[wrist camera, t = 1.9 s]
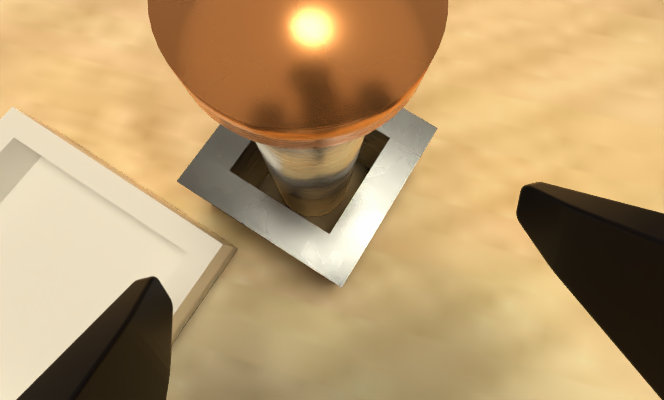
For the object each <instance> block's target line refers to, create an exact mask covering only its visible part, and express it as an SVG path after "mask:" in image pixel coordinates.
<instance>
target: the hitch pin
mask: <svg viewBox="0 0 664 400" xmlns="http://www.w3.org/2000/svg"><path fill="white" fill-rule="evenodd" d="M148 14H149V19H150V23H151V28H152V32H153V34H154V37H155V39H156V42H157V45H158V47H159V49H160V51H161V53H162V54H163V56H164V58H165V59H166V61H167V63H168V64H169V66H170V67H171V69H172V70H173V71H174V73H175V74H176V76H177V77H178V78H179V80H180V81H181V82H182V84H183V85H184V87H185V88H186V89H187V91H188V92H189V94H190V95H191V96H192V97H193V99H194V100H195V101H196V102H197V104H198V105H199V106H200V107H201V108H202V109H203V110H204V111H205V112H206V113H207V114H208V115H209V116H210V117H211V118H213V119H214V120H215V121H217V122H218V123H220V124H221V125H222V126H224V127H225V128H227V129H229V130H230V131H232V132H234V133H236V134H238V135H240V136H242V137H244V138H247V139H250V140H252V141H255V142H256V144H257V146H258V149H259V151H260V153H261V155H262V157H263V159H264V161H265V163H266V165H267V167H268V169H269V171H270V173H271V175H272V177H273V179H274V181H275V183H276V185H277V188H278V190H279V192H280V194H281V196H282V198H283V200H284V201H285V203H286V204H287V205H288V206H289V207H290V208H291V209H292V210H294V211H295V212H297V213H299V214H302V215H305V216H321V215H325V214H327V213H329V212H331V211H333V210H334V209H335V208H336V207H337V206H338V205H339V204H340V203H341V202H342V200H343V198H344V196H345V193H346V190H347V187H348V184H349V181H350V178H351V175H352V172H353V169H354V166H355V163H356V160H357V157H358V154H359V151H360V148H361V145H362V142H363V139H364V136H365V135H367V134H369V133H370V132H372V131H374V130H376V129H377V128H379V127H381V126H382V125H383V124H385V123H386V122H387V121H389V120H390V119H391V118H393V117H394V116H395V115H396V114H397V113H398V112H399V111H400V110H401V109H402V108H403V107H404V106H405V105H406V103H407V102H408V101H409V99H410V98H411V97H412V95H413V94H414V93H415V91H416V89H417V87H418V86H419V84H420V82H421V80H422V78H423V76H424V74H425V72H426V71H427V69H428V67H429V65H430V63H431V61H432V59H433V57H434V55H435V54H436V52H437V50H438V48H439V45H440V43H441V40H442V37H443V34H444V31H445V26H446V21H447V15H448V0H148Z"/></svg>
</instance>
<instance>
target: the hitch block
mask: <svg viewBox="0 0 664 400" xmlns="http://www.w3.org/2000/svg"><path fill="white" fill-rule="evenodd" d="M436 130H437V128H436V127H435V126H433V125H431V124H429V123H428V122H426V121H424V120H423V119H421V118H419V117H417V116H416V115H414V114H412V113H411V112H409V111H407V110H405V109H404V108H402V109H401V110H400V111H399V112H398V113H397V114H396V115H395V116H394V117H393V118H391V119H390V120H389V121H387V122H386V123H385V124H383V125H382V126H381V127H379V128H377V129H376V130H374V131H372V132H370V133H369V134H367V135H365V136H364V139H363V142H362V145H361V148H360V151H359V154H358V157H357V161H359V162H360V163H362V164H364V165H365V166H367V167H369V168H370V171H369V172H368V174H367V176H366V177H365V179H364V180H363V182H362V184H361V185H360V187H359V188H358V190H357V192H356V193H355V195H354V196H353V198H352V199H351V201H350V203H349V204H348V206H347V207H346V209H345V211H344V212H343V214H342V215H341V217H340V218H339V220H338V222H337V223H336V225H335V226H334V228H333V230H332V231H331V233H330V234H328V233H327V232H325V231H324V230H322V229H321V228H319V227H317V226H316V225H314V224H313V223H311V222H309V221H308V220H306V219H305V218H303V217H302V216H300V215H298V214H297V213H295V212H294V211H292V210H290V209H289V208H287V207H286V206H284V205H283V204H281V203H279V202H278V201H276V200H275V199H273V198H271V197H270V196H268V195H267V194H265V193H264V192H262V191H260V190H259V189H257V187H258V186H259V184H260V183H261V182H262V180H263V179H264V177H265V176H266V175H267V173H268V172H269V169H268V167H267V165H266V163H265V161H264V159H263V157H262V155H261V153H260V151H259V149H258V146H257V144H256V142H255V141H252V140H250V139H247V138H244V137H242V136H240V135H238V134H236V133H234V132H232V131H230V130H229V129H227V128H225V127H224V126H222V125H221V124H220V125H219V127H218V128H217V129H216V131H215V132H214V133H213V135H212V136H211V137H210V138H209V140H208V141H207V142H206V144H205V145H204V146H203V148H202V149H201V150H200V152H199V153H198V154H197V155H196V157H195V158H194V159H193V161H192V162H191V163H190V165H189V166H188V167H187V169H186V170H185V171H184V172H183V174H182V175H181V176H180V178H179V179H178V180H177V182H179V183H180V184H182V185H183V186H185V187H186V188H188V189H189V190H191V191H192V192H194V193H196V194H197V195H199V196H200V197H202V198H203V199H205V200H206V201H208V202H210V203H211V204H213V205H214V206H216V207H217V208H219V209H220V210H222V211H224V212H225V213H227V214H228V215H230V216H231V217H233V218H234V219H236V220H237V221H239V222H241V223H242V224H244V225H245V226H247V227H248V228H250V229H251V230H253V231H255V232H256V233H258V234H259V235H261V236H262V237H264V238H265V239H267V240H268V241H270V242H272V243H273V244H275V245H276V246H278V247H279V248H281V249H282V250H284V251H286V252H287V253H289V254H290V255H292V256H293V257H295V258H296V259H298V260H300V261H301V262H303V263H304V264H306V265H307V266H309V267H310V268H312V269H313V270H315V271H317V272H318V273H320V274H321V275H323V276H324V277H326V278H327V279H329V280H331V281H332V282H334V283H335V284H337V285H338V286H340V287H341V288H342V286H343V285H344V283H345V281H346V280H347V278H348V276H349V275H350V273H351V271H352V270H353V268H354V266H355V265H356V263H357V261H358V260H359V258H360V256H361V255H362V253H363V251H364V250H365V248H366V246H367V245H368V243H369V241H370V240H371V238H372V236H373V235H374V233H375V231H376V230H377V228H378V227H379V225H380V223H381V222H382V220H383V218H384V217H385V215H386V213H387V212H388V210H389V208H390V207H391V205H392V203H393V202H394V200H395V198H396V197H397V195H398V193H399V192H400V190H401V188H402V187H403V185H404V183H405V182H406V180H407V178H408V177H409V175H410V173H411V172H412V170H413V168H414V167H415V165H416V163H417V162H418V160H419V158H420V157H421V155H422V153H423V152H424V150H425V148H426V147H427V145H428V143H429V142H430V140H431V138H432V137H433V135H434V133H435V132H436Z"/></svg>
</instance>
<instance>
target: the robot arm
mask: <svg viewBox="0 0 664 400" xmlns="http://www.w3.org/2000/svg"><path fill="white" fill-rule="evenodd" d="M516 214H517V218H518V221H519V223H520V224H521V225H522V227H523V228H524V230H525V231H526V233H527V234H528V236H529V237H530V239H531V240H532V241H533V243H534V244H535V246H536V247H537V249H538V250H539V252H540V253H541V255H542V256H543V258H544V259H545V260H546V262H547V263H548V265H549V266H550V267H551V269H552V270H553V271H554V273H555V274H556V275H557V276H558V278H559V279H560V280H561V281H562V282H563V283H564V285H565V286H566V287H567V288H568V289H569V291H570V292H571V293H572V294H573V295H574V296H575V298H576V299H577V300H578V301H579V302H580V304H581V305H582V306H583V307H584V308H585V309H586V311H587V312H588V313H589V314H590V315H591V317H592V318H593V319H594V320H595V321H596V322H597V324H598V325H599V326H600V327H601V328H602V330H603V331H604V332H605V333H606V334H607V335H608V337H609V338H610V339H611V340H612V341H613V343H614V344H615V345H616V346H617V347H618V348H619V350H620V351H621V352H622V353H623V354H624V356H625V357H626V358H627V359H628V360H629V361H630V363H631V364H632V365H633V366H634V367H635V369H636V370H637V371H638V372H639V373H640V374H641V376H642V377H643V378H644V379H645V380H646V382H647V383H648V384H649V385H650V386H651V387H652V389H653V390H654V391H655V392H656V393H657V395H658V396H659V397H660V398H661V399H662V400H664V214H663V213H659V212H656V211H652V210H648V209H644V208H640V207H636V206H632V205H628V204H624V203H621V202H617V201H613V200H609V199H605V198H601V197H597V196H593V195H590V194H586V193H582V192H578V191H574V190H570V189H566V188H562V187H559V186H555V185H551V184H547V183H543V182H536V183H532V184H528V185H525V186H523V187H522V189H521V191H520V196H519V201H518V206H517V211H516ZM172 321H173V304H172V301H171V298H170V297H169V295H168V293H167V292H166V290H165V289H164V287H163V285H162V284H161V282H160V281H159V279H158V278H157V277H155V276H150V277H146V278H142V279H138V280H136V281H134V282H133V283H132V284H131V285H130V286H129V287H128V288H127V289H126V290H125V291H124V292H123V293H122V294H121V295H120V296H119V297H118V298H117V299H116V300H115V301H114V302H113V303H112V304H111V305H110V306H109V307H108V308H107V309H106V310H105V311H104V312H103V313H102V314H101V315H100V316H99V317H98V318H97V319H96V320H95V321H94V322H93V323H92V324H91V325H90V326H89V327H88V328H87V329H86V330H85V331H84V332H83V333H82V334H81V335H80V336H79V337H78V338H77V339H76V340H75V341H74V342H73V343H72V344H71V345H70V346H69V347H68V348H67V349H66V350H65V351H64V352H63V353H62V354H61V355H60V356H59V357H58V358H57V359H56V360H55V361H54V362H53V363H52V364H51V365H50V366H49V367H48V368H47V369H46V370H45V371H44V372H43V373H42V374H41V375H40V376H39V377H38V378H37V379H36V380H35V381H34V382H33V383H32V384H31V385H30V386H29V387H28V388H27V389H26V390H25V391H24V392H23V393H22V394H21V395H20V396H19V397H18V398H17V399H16V400H166V396H167V390H168V384H169V376H170V365H171V345H172Z"/></svg>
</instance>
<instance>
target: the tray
mask: <svg viewBox="0 0 664 400" xmlns="http://www.w3.org/2000/svg"><path fill="white" fill-rule="evenodd" d="M236 250H237V248H236V247H234V246H233V245H231V244H230V243H228V242H227V241H225V240H224V239H222V238H221V237H219V236H218V235H216V234H214V233H213V232H211V231H210V230H208V229H207V228H205V227H204V226H202V225H201V224H199V223H198V222H196V221H195V220H193V219H191V218H190V217H188V216H187V215H185V214H184V213H182V212H181V211H179V210H178V209H176V208H175V207H173V206H172V205H170V204H168V203H167V202H165V201H164V200H162V199H161V198H159V197H158V196H156V195H155V194H153V193H152V192H150V191H149V190H147V189H146V188H144V187H142V186H141V185H139V184H138V183H136V182H135V181H133V180H132V179H130V178H129V177H127V176H126V175H124V174H123V173H121V172H119V171H118V170H116V169H115V168H113V167H112V166H110V165H109V164H107V163H106V162H104V161H103V160H101V159H100V158H98V157H97V156H95V155H93V154H92V153H90V152H89V151H87V150H86V149H84V148H83V147H81V146H80V145H78V144H77V143H75V142H74V141H72V140H70V139H69V138H67V137H66V136H64V135H63V134H61V133H60V132H58V131H57V130H55V129H53V128H51V127H49V126H47V125H46V124H44V123H42V122H40V121H38V120H36V119H34V118H33V117H31V116H29V115H27V114H25V113H23V112H22V111H20V110H18V109H16V108H14V107H12V108H11V109H10V110H9V111H8V112H7V113H6V114H5V115H4V116H3V117H2V118H1V120H0V400H16V399H17V398H18V397H19V396H20V395H21V394H22V393H23V392H24V391H25V390H26V389H27V388H28V387H29V386H30V385H31V384H32V383H33V382H34V381H35V380H36V379H37V378H38V377H39V376H40V375H41V374H42V373H43V372H44V371H45V370H46V369H47V368H48V367H49V366H50V365H51V364H52V363H53V362H54V361H55V360H56V359H57V358H58V357H59V356H60V355H61V354H62V353H63V352H64V351H65V350H66V349H67V348H68V347H69V346H70V345H71V344H72V343H73V342H74V341H75V340H76V339H77V338H78V337H79V336H80V335H81V334H82V333H83V332H84V331H85V330H86V329H87V328H88V327H89V326H90V325H91V324H92V323H93V322H94V321H95V320H96V319H97V318H98V317H99V316H100V315H101V314H102V313H103V312H104V311H105V310H106V309H107V308H108V307H109V306H110V305H111V304H112V303H113V302H114V301H115V300H116V299H117V298H118V297H119V296H120V295H121V294H122V293H123V292H124V291H125V290H126V289H127V288H128V287H129V286H130V285H131V284H132V283H133V282H134V281H136V280H138V279H142V278H146V277H150V276H155V277H157V278H158V279H159V281H160V282H161V284H162V285H163V287H164V289H165V290H166V292H167V293H168V295H169V297H170V298H171V301H172V304H173V321H172V344H173V342H174V341H175V339H176V338H177V336H178V335H179V333H180V332H181V330H182V329H183V328H184V326H185V325H186V323H187V322H188V320H189V319H190V317H191V316H192V314H193V313H194V312H195V310H196V309H197V307H198V306H199V304H200V303H201V301H202V300H203V298H204V297H205V296H206V294H207V293H208V291H209V290H210V288H211V287H212V285H213V284H214V282H215V281H216V280H217V278H218V277H219V275H220V274H221V272H222V271H223V269H224V268H225V266H226V265H227V264H228V262H229V261H230V259H231V258H232V256H233V255H234V253H235V252H236Z"/></svg>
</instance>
